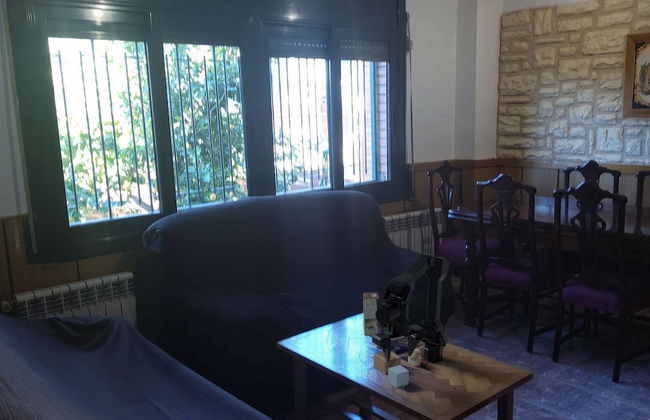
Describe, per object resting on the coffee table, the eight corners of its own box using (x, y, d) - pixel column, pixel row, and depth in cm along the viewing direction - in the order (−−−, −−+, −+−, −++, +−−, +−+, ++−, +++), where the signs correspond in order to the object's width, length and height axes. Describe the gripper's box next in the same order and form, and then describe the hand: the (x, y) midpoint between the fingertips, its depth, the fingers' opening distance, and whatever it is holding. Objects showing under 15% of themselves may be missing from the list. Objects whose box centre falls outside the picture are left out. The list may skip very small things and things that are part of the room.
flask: (377, 349, 216) (377, 323, 215) (374, 346, 219) (374, 320, 217) (398, 346, 219) (399, 320, 218) (395, 343, 222) (395, 318, 220)
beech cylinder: (415, 360, 207) (415, 347, 206) (423, 364, 203) (423, 352, 202) (405, 362, 205) (406, 350, 204) (413, 367, 201) (413, 354, 200)
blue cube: (399, 378, 193) (399, 365, 192) (408, 384, 188) (408, 370, 187) (388, 381, 190) (388, 368, 189) (396, 387, 186) (396, 374, 185)
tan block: (389, 362, 205) (389, 350, 204) (400, 370, 199) (400, 357, 198) (373, 367, 202) (373, 354, 201) (384, 374, 196) (384, 361, 195)
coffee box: (379, 335, 230) (379, 298, 227) (364, 335, 230) (364, 298, 227) (377, 327, 239) (378, 291, 236) (363, 327, 239) (363, 291, 236)
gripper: (407, 304, 197) (406, 345, 199) (363, 313, 188) (363, 356, 191) (427, 313, 187) (425, 356, 190) (381, 324, 178) (381, 368, 181)
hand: (398, 359), depth 188 cm, fingers open, 9 cm apart
